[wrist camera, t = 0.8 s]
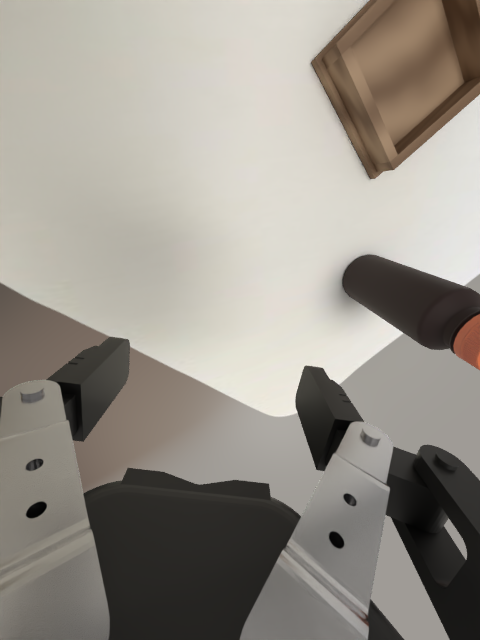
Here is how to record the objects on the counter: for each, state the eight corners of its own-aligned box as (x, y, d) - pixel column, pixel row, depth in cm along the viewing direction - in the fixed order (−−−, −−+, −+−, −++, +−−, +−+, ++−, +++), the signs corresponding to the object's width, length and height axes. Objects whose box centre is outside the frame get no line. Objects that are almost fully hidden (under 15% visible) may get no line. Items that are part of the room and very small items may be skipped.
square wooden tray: (311, 62, 26) (328, 42, 23) (431, -64, 24) (472, -109, 20) (370, 178, 32) (391, 177, 29) (471, 88, 30) (509, 74, 26)
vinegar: (332, 283, 38) (450, 362, 20) (364, 244, 36) (525, 294, 18) (361, 305, 41) (489, 392, 23) (393, 269, 39) (559, 335, 21)
